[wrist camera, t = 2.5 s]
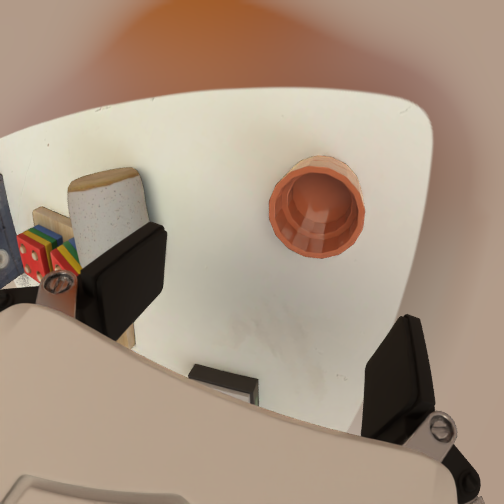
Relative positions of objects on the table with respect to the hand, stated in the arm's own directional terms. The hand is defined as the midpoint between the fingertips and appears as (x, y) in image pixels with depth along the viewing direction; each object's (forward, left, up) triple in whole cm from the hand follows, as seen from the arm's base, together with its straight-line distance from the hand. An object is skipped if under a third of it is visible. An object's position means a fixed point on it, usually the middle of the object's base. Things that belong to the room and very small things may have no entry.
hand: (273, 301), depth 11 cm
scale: (-13, +26, -14) cm, 32 cm away
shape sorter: (+12, +30, -14) cm, 35 cm away
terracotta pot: (0, -1, -14) cm, 14 cm away
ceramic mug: (+12, +15, -14) cm, 24 cm away
